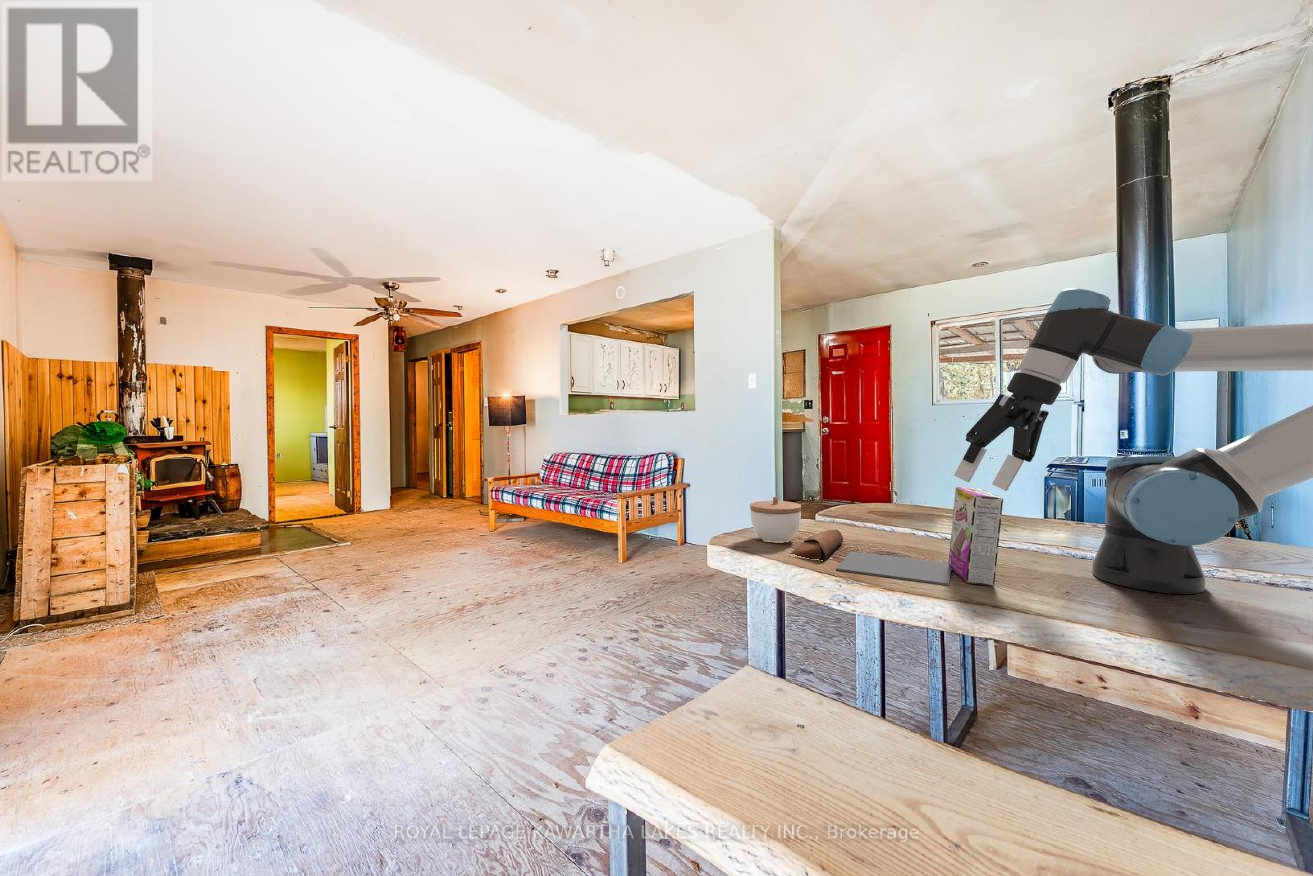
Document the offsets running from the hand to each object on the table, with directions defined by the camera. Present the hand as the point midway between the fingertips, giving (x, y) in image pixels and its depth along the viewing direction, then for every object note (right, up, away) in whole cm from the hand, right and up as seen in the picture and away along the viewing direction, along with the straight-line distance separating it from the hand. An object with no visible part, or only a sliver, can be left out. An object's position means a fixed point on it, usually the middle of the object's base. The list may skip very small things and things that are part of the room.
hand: (980, 483), depth 98 cm
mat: (-12, -18, +9) cm, 24 cm away
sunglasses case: (-24, -18, +24) cm, 38 cm away
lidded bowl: (-31, -18, +34) cm, 49 cm away
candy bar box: (-1, -18, +2) cm, 18 cm away
